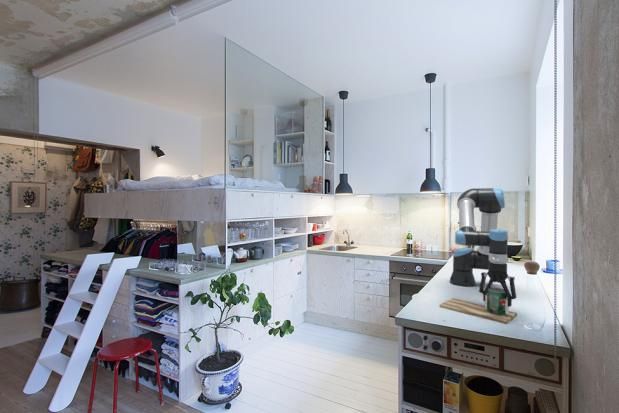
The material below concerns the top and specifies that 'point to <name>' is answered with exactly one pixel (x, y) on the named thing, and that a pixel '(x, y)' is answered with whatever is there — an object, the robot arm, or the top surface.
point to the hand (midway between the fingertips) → (496, 310)
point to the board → (476, 310)
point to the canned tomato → (496, 301)
